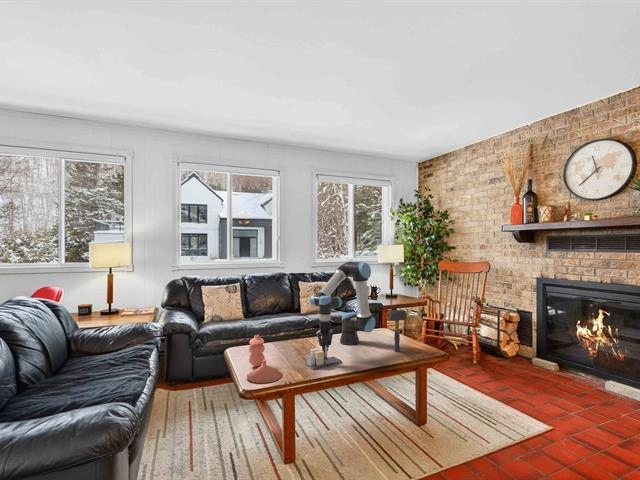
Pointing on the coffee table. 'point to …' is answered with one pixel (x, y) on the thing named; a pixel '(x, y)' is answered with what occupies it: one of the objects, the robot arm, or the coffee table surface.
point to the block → (318, 356)
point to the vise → (328, 362)
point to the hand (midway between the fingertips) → (325, 356)
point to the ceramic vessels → (256, 359)
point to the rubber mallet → (397, 324)
